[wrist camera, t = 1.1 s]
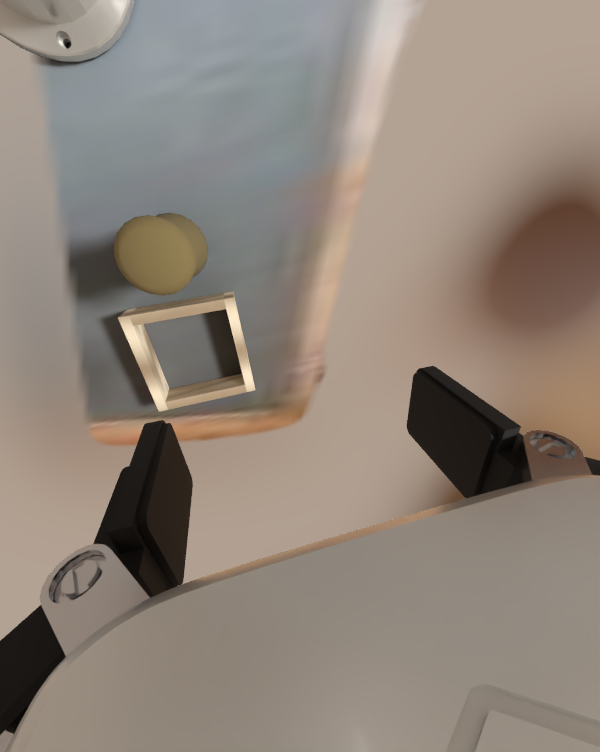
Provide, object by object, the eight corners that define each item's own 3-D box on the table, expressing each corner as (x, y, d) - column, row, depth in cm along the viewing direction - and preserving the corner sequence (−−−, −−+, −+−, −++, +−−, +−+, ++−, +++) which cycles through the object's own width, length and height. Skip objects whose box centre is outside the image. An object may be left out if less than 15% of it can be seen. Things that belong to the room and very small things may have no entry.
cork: (138, 269, 29) (95, 291, 19) (145, 202, 26) (101, 190, 17) (201, 287, 31) (191, 315, 21) (213, 226, 29) (208, 227, 19)
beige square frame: (126, 309, 30) (117, 317, 28) (233, 291, 32) (233, 297, 29) (163, 397, 35) (158, 411, 33) (253, 378, 37) (255, 390, 34)
